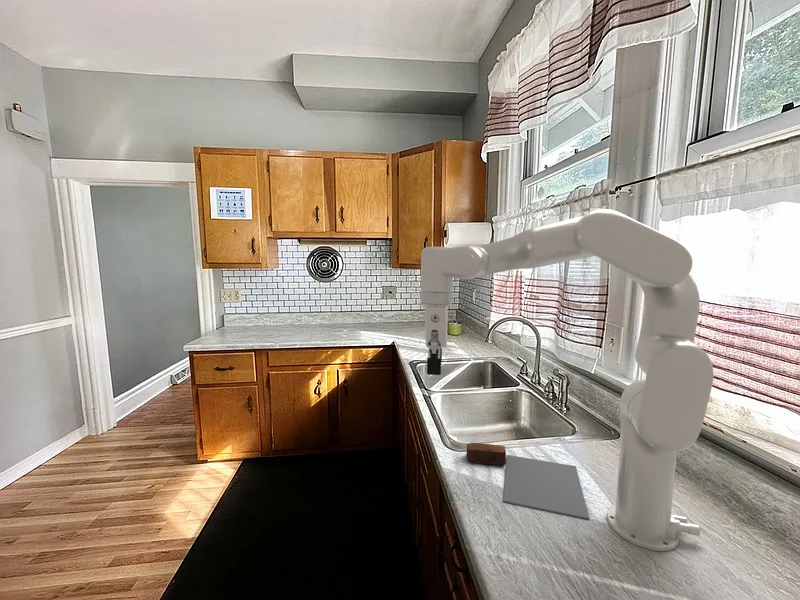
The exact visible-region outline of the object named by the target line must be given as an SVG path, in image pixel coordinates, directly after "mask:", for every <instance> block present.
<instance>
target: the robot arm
mask: <svg viewBox="0 0 800 600" xmlns="http://www.w3.org/2000/svg"><path fill="white" fill-rule="evenodd" d="M591 257H597V258H599V259H601V260H602V261H605V262H606V263H607V264H609V265H611V266H613V267H615V268H616V269H618V270H620V271H622V272H624V273H625V275H626V276H627V277H628V279H631V280H632V281H633V282H635V283H637V284H638V285H639V286H640V288H641V290H642V292H643V295H644V296H643V297H644V300H645V301H644V310H643V317H642V322H641V327H640V331H639V336H638V341H637V345H636V347H635V353H634V357H635V358H634V359H635V362H636V364H637V365H638V367H639V368H640V370H641V371H642V372H643V373H644V374H645V379H640V380H636V381H633V382H632V383H630V384H628V385H627V386H626V387H625V389H624V390H623V391H622V393H621V395H620V396H621V397H620V401H619V415H620V416H619V417H620V442H619V444H620V445H619V454H618V455H619V457H618V470H617V471H618V472H617V483H616V485H617V486H616V498H615V500H616V501H615V504H612V505H611V506H609V508H608V509H607V512H606V519H607V522H608V524H609V526H610V527H611V529H612V530H613V531H614V532H615V533H616V534H617V535H619V536H620V537H622V539H624V540H625V541H628V542H629V543H630V544H633V545H636V546H637V547H640V548H643V549H647V550H650V551H655V552H667V551H672V550H675V549H676V548H677V547H678V546H679V542H680V534H682V533H683V534H684V533H686V534H688V535H692V536H698V537H700V536H701V530H700V529H701V528H700V526H699V525H698V524H695V523H691V522H690V523H689V522H688V519H687V517H686V516H682V515H678V514H677V515H676V514H673V513H672V507H673V497H674V496H673V495H674V485H675V484H674V483H675V473H676V465H677V453H679V452H682V451H685V450H687V449H688V448H690V447H691V446H692V445H693V444H694V443H695V442H696V441H697V439H698V437H699V436H700V433H701V431H702V428H703V424H704V420H705V416H706V412H707V409H708V404H709V401H710V397H711V392H712V387H713V383H714V376H715V375H714V367H713V363H712V360H711V358H710V356H709V355H708V354H707V353H706V351H705V350H704V349H703V348H702V347H700V346H699V345H697V344H695V337H696V332H697V326H698V321H699V320H698V319H699V314H700V307H701V305H700V303H701V302H700V301H701V300H700V293H699V289H698V286H697V284H696V282H695V280H694V278H693V276H692V274H691V270H692V267H693V256H692V254H691V251H689V249H688V248H687V247H686V246H685V245H684V244H683V243H682V242H680V241H678V240H677V239H674V238H673V237H671V236H670V235H669V236H668V235H667V234H665V233H662V232H660V231H658V230H656V229H654V228H653V227H650V226H647V225H646V224H644V223H641V222H639V221H637V220H635V219H633V218H632V217H629V216H627V215H626V214H623V213H622V212H619V211H616V210H613V209H609V208H608V209H607V208H606V209H605V208H600V209H595V210H592V211H590V212H589V213H587V214H586V215H583V216H578V217H573V218H570V219H566V220H562V221H558V222H554V223H549V224H544V225H540V226H536V227H532V228H528V229H525V230H523V231H521V232H519V233H517V234H516V235H512V236H510V237H508V238H504V239H501V240H498V241H494V242H489V243H485V244H481V245H476V246H474V245H460V246H453V247H448V246H427V247H424V248H423V249H422V250H421V253H420V262H421V263H420V300H419V301H420V304H419V305H421V306H423V307H424V309H425V312H424V333H425V334H424V335H425V337H424V338H425V346H426V347H427V349H428V353H427V357H426V374H427V375H429V376H440V375H442V362H443V361H442V360H443V359H442V356H443V349H446V348H447V347H448V323H449V322H448V321H449V320H448V318H449V317H448V315H449V314H448V307H452V305H453V278H456V279H460V280H461V279H462V280H473V279H475V278H478V277H479V278H480V277H483V276H488V275H493V274H498V273H502V272H507V271H513V270H523V269H525V270H526V269H527V270H528V269H535V268H536V269H537V268H541V267H547V266H552V265H555V264H560V263H565V262H571V261H576V260H580V259H581V260H582V259H587V258H591Z"/></svg>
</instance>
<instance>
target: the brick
mask: <svg viewBox="0 0 800 600" xmlns="http://www.w3.org/2000/svg"><path fill="white" fill-rule="evenodd" d="M506 450H507V449H506V447H505V446H504V445H498V444H489V443H481V442H470V443H467V444H466V457H465V459H466V460H467V462H469V463H477V464H485V465H499V466H500V465H501V466H504V465H505V466H506V462H507V451H506Z"/></svg>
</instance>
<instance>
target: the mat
mask: <svg viewBox="0 0 800 600" xmlns="http://www.w3.org/2000/svg"><path fill="white" fill-rule="evenodd" d="M503 490H504V491H503V500H502V501H503V503H506V504H511V505H514V506H520V507H525V508H531V509H534V510H538V511H539V510H540V511H545V512H549V513H554V514H559V515H564V516H569V517H574V518H578V519H584V520H588V521H589V520H590V516H589V512H588V507H587V504H586V500H585V496H584V491H583V487H582V484H581V480H580V476H579V474H578V470H577V466H576V465H571V464H567V463H566V464H564V463H559V462H553V461H548V460H547V461H546V460H540V459H535V458H530V457H529V458H528V457H525V456H524V457H523V456H518V455H510V454H506V464H505V476H504V489H503Z"/></svg>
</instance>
